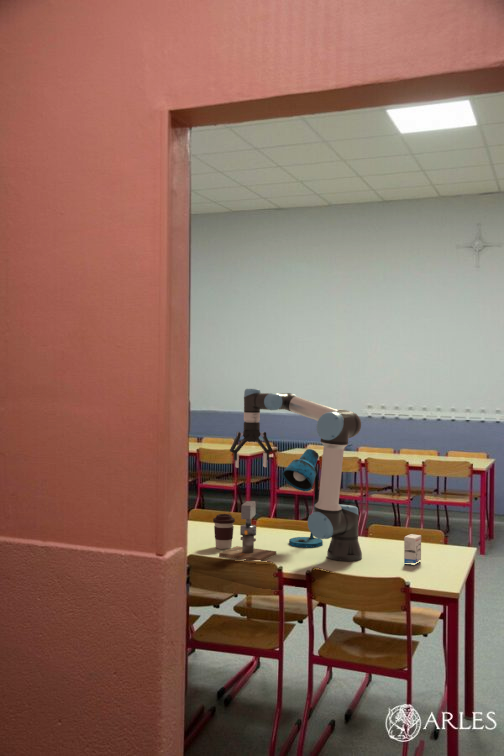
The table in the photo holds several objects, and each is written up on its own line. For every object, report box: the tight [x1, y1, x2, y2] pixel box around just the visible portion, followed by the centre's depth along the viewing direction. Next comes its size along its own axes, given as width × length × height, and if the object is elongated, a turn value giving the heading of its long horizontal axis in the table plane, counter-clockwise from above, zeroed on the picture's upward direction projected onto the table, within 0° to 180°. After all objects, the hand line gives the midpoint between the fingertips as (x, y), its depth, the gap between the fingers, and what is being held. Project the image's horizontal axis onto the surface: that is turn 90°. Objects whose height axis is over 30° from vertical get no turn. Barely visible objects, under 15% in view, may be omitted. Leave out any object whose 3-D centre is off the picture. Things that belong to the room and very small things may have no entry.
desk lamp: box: [281, 448, 324, 549], centre depth 352 cm, size 16×22×45 cm
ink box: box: [403, 533, 422, 564], centre depth 318 cm, size 9×5×12 cm, turn 148°
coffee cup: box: [212, 513, 236, 550], centre depth 343 cm, size 10×10×15 cm
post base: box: [218, 536, 277, 561], centre depth 328 cm, size 20×16×9 cm
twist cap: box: [239, 500, 257, 537], centre depth 328 cm, size 12×7×14 cm, turn 169°
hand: (251, 467), depth 347 cm, fingers open, 13 cm apart
